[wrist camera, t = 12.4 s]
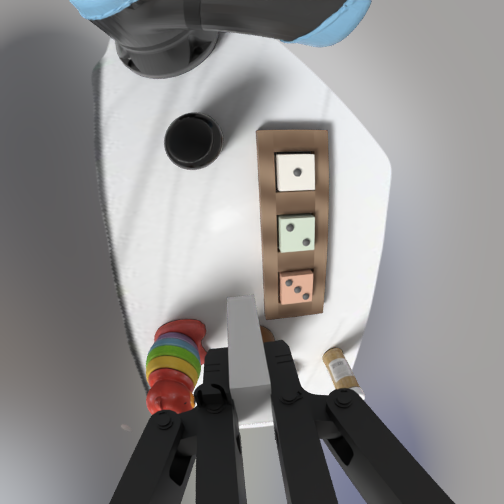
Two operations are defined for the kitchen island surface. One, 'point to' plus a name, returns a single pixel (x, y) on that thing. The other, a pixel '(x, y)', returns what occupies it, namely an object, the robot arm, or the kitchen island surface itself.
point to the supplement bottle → (193, 141)
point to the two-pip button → (296, 232)
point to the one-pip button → (295, 172)
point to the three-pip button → (295, 286)
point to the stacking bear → (175, 365)
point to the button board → (292, 204)
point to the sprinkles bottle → (341, 371)
